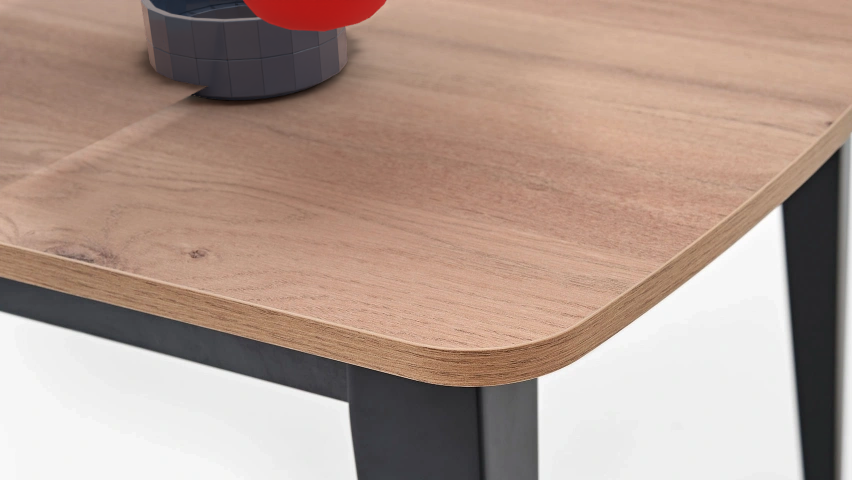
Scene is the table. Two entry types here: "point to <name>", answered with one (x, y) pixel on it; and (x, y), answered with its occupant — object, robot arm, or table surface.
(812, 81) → the table surface
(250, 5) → the tomato
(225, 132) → the table surface
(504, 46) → the table surface
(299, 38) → the faceted grey ring
